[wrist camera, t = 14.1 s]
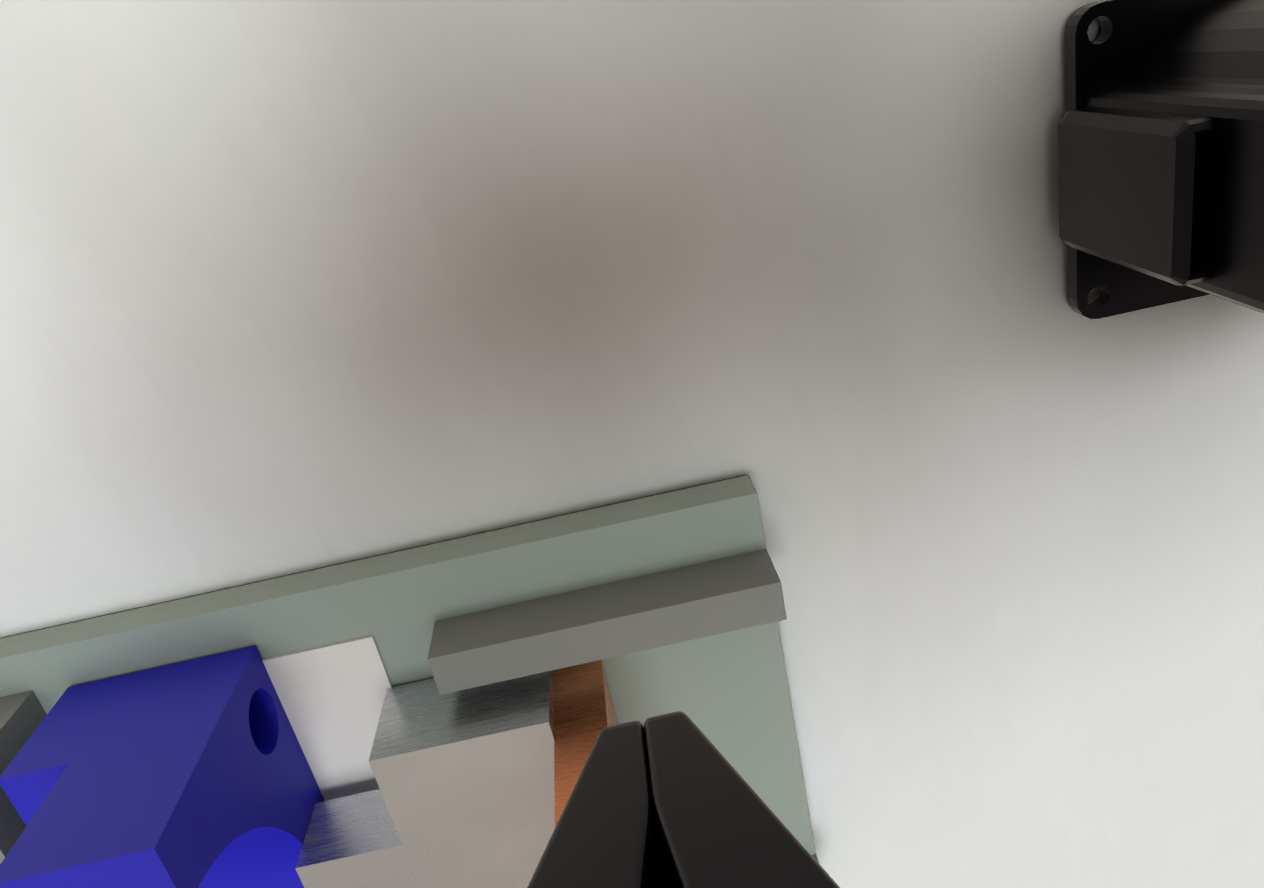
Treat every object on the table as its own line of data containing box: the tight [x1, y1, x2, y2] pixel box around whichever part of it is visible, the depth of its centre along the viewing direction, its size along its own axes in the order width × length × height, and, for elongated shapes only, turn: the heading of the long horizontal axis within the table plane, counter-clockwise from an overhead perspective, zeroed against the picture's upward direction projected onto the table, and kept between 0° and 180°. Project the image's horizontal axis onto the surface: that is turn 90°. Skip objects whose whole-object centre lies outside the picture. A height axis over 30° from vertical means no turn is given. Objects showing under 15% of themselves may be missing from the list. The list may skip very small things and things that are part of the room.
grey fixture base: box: [0, 475, 819, 864], centre depth 23 cm, size 19×14×4 cm
